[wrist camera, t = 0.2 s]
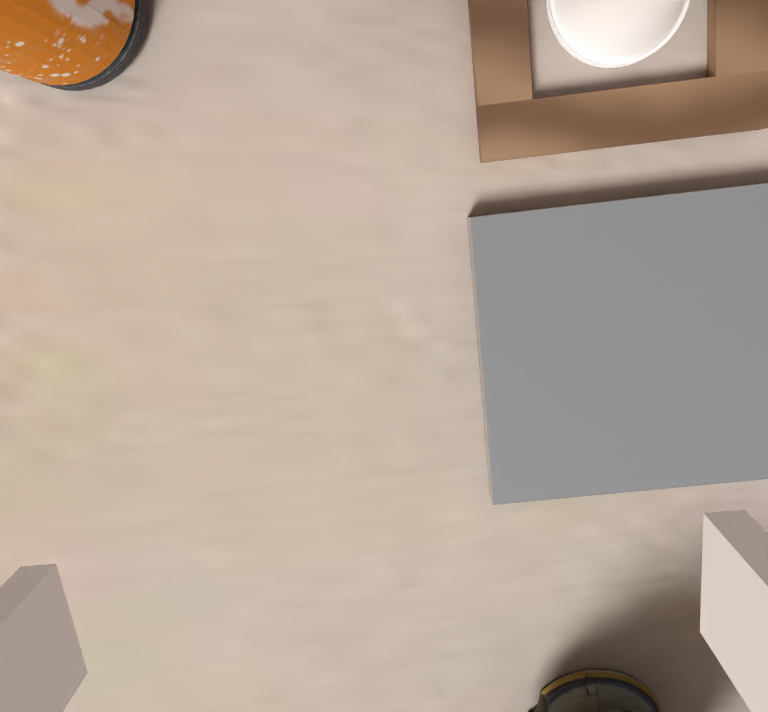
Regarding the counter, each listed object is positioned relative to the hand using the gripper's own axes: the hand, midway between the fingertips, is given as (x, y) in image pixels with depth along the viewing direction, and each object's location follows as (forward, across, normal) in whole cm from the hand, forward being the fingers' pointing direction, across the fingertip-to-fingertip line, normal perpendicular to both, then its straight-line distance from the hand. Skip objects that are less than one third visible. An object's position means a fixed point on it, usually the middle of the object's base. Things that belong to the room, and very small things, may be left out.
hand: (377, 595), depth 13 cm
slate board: (+27, +14, -4) cm, 31 cm away
